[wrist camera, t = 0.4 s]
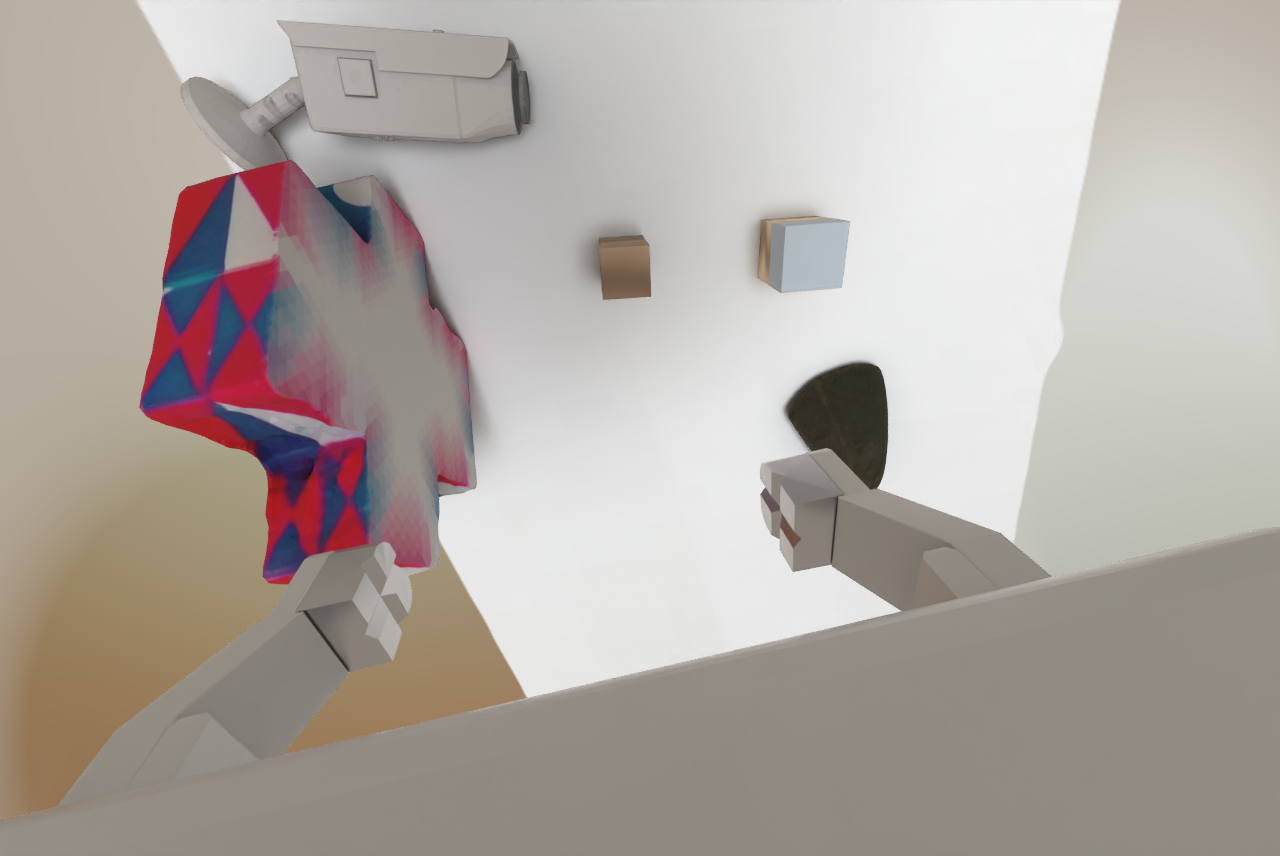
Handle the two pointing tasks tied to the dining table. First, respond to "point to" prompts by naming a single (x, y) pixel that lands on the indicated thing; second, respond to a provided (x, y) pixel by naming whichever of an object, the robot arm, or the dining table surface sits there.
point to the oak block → (766, 243)
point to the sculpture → (315, 361)
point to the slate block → (808, 254)
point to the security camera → (373, 91)
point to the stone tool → (847, 419)
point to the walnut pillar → (624, 267)
